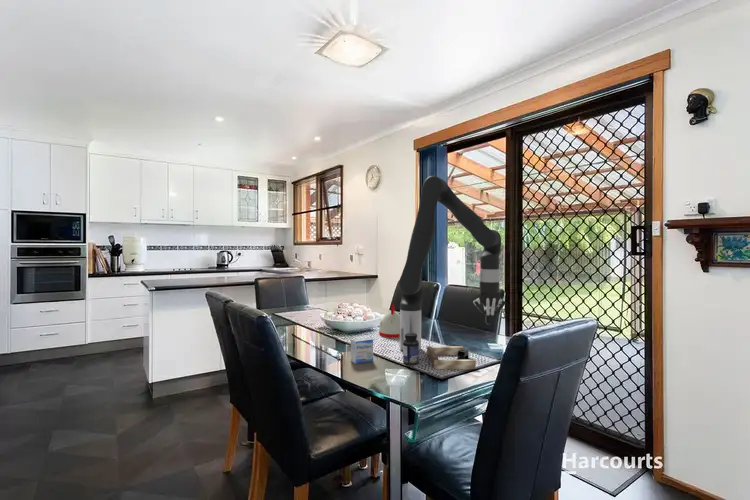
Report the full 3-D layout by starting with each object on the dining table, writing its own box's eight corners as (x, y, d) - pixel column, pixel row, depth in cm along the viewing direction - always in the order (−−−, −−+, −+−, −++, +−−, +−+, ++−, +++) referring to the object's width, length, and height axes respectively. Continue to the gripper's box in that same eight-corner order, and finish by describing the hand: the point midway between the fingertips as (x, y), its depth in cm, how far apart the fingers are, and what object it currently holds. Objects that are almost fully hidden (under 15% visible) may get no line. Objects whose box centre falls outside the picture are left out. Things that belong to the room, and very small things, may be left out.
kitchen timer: (377, 337, 186) (377, 306, 185) (381, 330, 199) (381, 302, 199) (405, 338, 183) (405, 307, 183) (407, 331, 197) (407, 302, 197)
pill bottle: (420, 361, 148) (420, 333, 148) (417, 365, 143) (417, 336, 142) (405, 359, 150) (405, 331, 150) (401, 364, 145) (401, 335, 144)
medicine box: (355, 364, 144) (355, 341, 144) (350, 361, 148) (350, 339, 148) (373, 361, 148) (373, 339, 148) (368, 358, 152) (368, 336, 152)
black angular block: (461, 356, 156) (461, 345, 156) (478, 360, 152) (478, 348, 152) (447, 364, 146) (448, 352, 146) (465, 368, 142) (465, 355, 142)
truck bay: (434, 369, 139) (435, 359, 139) (426, 353, 158) (426, 345, 158) (475, 368, 139) (475, 359, 139) (462, 353, 158) (462, 345, 158)
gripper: (502, 279, 152) (502, 322, 153) (470, 279, 152) (469, 322, 152) (509, 281, 145) (509, 326, 145) (475, 281, 144) (475, 326, 145)
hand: (489, 324), depth 149 cm, fingers closed
